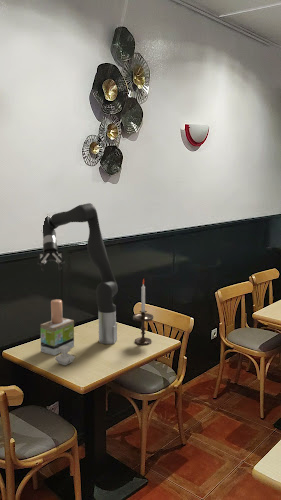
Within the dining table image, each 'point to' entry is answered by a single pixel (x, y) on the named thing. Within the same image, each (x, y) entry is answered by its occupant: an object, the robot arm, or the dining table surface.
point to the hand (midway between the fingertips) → (51, 270)
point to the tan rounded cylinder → (56, 311)
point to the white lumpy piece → (64, 356)
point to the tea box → (57, 336)
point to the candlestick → (143, 317)
